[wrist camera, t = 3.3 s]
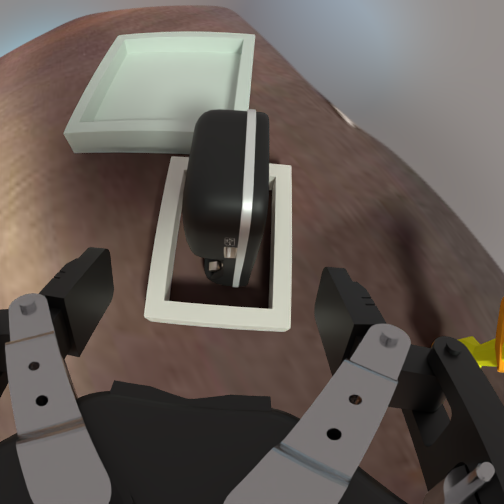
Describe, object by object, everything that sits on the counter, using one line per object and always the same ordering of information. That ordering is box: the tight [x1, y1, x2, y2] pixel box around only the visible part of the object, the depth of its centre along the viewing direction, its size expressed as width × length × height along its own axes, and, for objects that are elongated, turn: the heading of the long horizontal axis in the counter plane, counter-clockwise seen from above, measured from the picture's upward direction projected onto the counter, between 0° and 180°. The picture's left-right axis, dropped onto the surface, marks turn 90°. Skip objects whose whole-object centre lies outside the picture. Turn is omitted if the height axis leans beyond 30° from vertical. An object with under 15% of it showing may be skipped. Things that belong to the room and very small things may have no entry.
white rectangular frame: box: [144, 156, 292, 332], centre depth 23 cm, size 9×12×2 cm
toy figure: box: [431, 297, 504, 372], centre depth 17 cm, size 7×4×12 cm, turn 162°
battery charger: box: [182, 109, 269, 287], centre depth 19 cm, size 7×4×11 cm, turn 178°
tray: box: [63, 32, 255, 154], centre depth 28 cm, size 16×16×3 cm
